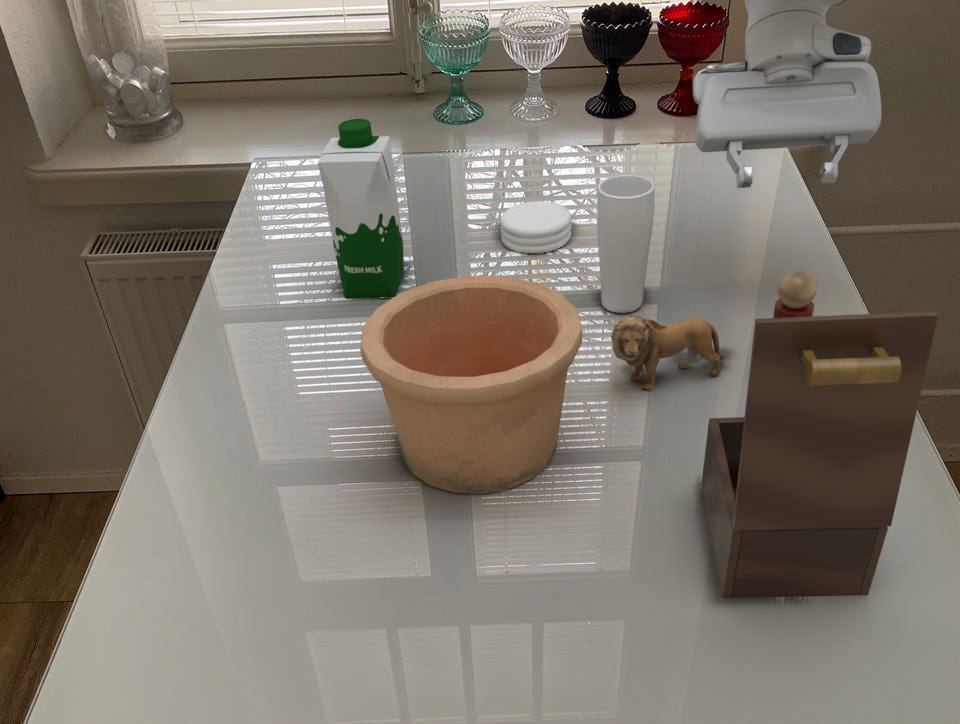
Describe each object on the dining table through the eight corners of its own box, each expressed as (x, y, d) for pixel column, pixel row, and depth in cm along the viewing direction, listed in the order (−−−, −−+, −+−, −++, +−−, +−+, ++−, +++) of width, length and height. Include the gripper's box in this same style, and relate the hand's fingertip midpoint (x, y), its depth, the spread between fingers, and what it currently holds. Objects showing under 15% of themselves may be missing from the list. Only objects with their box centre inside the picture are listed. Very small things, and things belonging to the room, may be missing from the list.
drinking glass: (643, 320, 124) (650, 199, 113) (590, 315, 126) (591, 196, 115) (652, 294, 128) (659, 175, 117) (600, 290, 130) (603, 172, 119)
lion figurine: (622, 406, 111) (625, 333, 105) (600, 383, 115) (602, 312, 108) (735, 371, 115) (745, 299, 108) (710, 350, 118) (718, 279, 111)
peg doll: (799, 351, 117) (816, 262, 109) (806, 371, 114) (824, 280, 106) (763, 353, 117) (777, 264, 109) (769, 372, 114) (783, 282, 106)
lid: (755, 318, 72) (767, 345, 68) (935, 311, 71) (958, 337, 67) (732, 525, 82) (742, 559, 78) (888, 521, 81) (906, 555, 77)
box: (700, 491, 100) (709, 417, 94) (828, 488, 99) (845, 413, 93) (721, 607, 89) (732, 532, 82) (865, 604, 88) (888, 528, 81)
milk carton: (411, 270, 138) (392, 116, 123) (400, 302, 131) (379, 144, 117) (350, 271, 139) (324, 118, 124) (336, 302, 132) (307, 146, 118)
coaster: (549, 260, 137) (549, 235, 134) (488, 247, 141) (486, 223, 138) (583, 231, 142) (583, 206, 140) (523, 219, 146) (522, 195, 144)
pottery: (367, 411, 114) (346, 294, 104) (552, 378, 116) (550, 260, 106) (395, 528, 99) (374, 405, 89) (606, 488, 101) (610, 364, 91)
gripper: (696, 50, 110) (698, 176, 110) (885, 38, 108) (887, 166, 109) (688, 80, 116) (690, 199, 117) (867, 69, 115) (868, 190, 115)
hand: (786, 183), depth 113 cm, fingers open, 8 cm apart
